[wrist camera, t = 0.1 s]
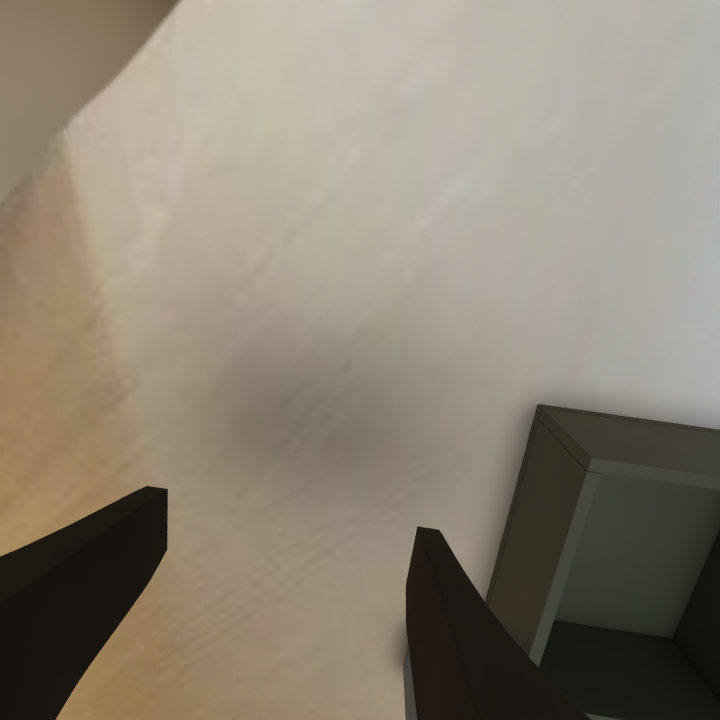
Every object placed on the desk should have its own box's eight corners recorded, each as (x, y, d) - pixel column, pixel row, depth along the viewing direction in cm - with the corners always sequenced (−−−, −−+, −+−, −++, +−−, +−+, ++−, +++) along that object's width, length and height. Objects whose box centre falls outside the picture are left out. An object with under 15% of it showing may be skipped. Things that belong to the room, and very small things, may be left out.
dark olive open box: (673, 640, 24) (756, 751, 19) (483, 610, 24) (510, 712, 19) (761, 435, 20) (895, 501, 15) (537, 403, 21) (591, 457, 15)
